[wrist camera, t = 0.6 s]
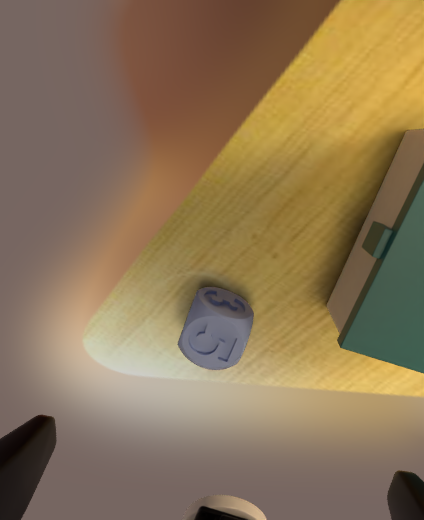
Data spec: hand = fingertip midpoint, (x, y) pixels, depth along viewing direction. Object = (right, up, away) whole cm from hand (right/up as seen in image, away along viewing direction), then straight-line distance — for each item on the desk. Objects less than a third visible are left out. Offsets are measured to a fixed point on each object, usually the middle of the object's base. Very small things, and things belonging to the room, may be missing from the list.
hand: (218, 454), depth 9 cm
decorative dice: (0, +1, +16) cm, 16 cm away
